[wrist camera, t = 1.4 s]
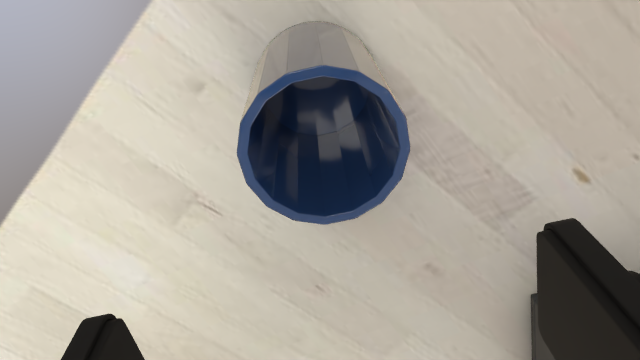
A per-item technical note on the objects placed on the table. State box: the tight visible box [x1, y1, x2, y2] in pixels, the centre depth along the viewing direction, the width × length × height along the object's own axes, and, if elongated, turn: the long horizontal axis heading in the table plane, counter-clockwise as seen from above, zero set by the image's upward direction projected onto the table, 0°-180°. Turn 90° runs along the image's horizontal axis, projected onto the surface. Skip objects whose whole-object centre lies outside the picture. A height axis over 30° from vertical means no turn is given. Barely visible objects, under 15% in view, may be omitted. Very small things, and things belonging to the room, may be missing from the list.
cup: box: [237, 21, 410, 224], centre depth 22 cm, size 6×6×9 cm
